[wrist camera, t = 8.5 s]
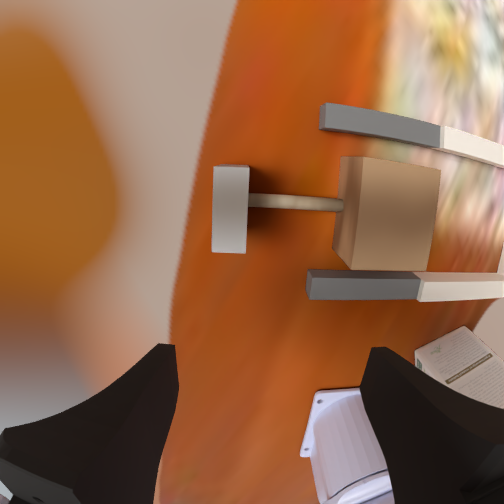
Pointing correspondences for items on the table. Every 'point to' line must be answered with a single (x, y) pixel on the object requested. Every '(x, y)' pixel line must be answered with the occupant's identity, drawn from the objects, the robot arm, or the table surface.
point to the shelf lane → (500, 283)
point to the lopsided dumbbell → (345, 212)
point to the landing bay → (369, 282)
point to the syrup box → (464, 366)
